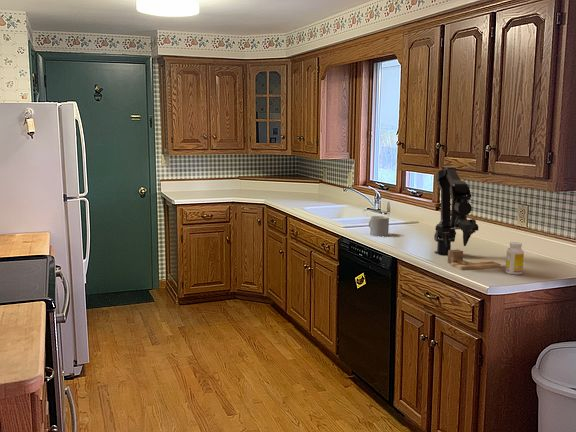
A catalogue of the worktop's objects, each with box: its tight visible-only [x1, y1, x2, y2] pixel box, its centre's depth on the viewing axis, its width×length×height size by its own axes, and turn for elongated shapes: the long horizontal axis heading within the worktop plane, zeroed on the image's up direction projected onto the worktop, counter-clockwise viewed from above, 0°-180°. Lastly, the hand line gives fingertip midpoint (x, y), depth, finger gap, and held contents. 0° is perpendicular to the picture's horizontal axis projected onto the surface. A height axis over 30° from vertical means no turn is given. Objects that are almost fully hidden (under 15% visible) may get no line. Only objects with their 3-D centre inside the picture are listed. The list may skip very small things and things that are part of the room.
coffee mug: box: [368, 215, 390, 237], centre depth 332 cm, size 13×10×10 cm
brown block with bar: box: [447, 248, 469, 265], centre depth 261 cm, size 10×5×6 cm, turn 19°
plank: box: [450, 259, 501, 271], centre depth 260 cm, size 8×20×1 cm, turn 109°
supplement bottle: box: [505, 241, 525, 276], centre depth 247 cm, size 7×7×13 cm
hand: (455, 246), depth 263 cm, fingers open, 9 cm apart
